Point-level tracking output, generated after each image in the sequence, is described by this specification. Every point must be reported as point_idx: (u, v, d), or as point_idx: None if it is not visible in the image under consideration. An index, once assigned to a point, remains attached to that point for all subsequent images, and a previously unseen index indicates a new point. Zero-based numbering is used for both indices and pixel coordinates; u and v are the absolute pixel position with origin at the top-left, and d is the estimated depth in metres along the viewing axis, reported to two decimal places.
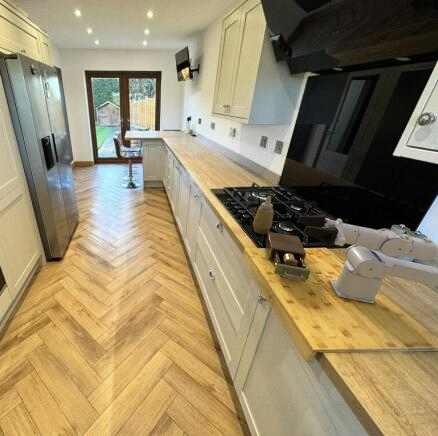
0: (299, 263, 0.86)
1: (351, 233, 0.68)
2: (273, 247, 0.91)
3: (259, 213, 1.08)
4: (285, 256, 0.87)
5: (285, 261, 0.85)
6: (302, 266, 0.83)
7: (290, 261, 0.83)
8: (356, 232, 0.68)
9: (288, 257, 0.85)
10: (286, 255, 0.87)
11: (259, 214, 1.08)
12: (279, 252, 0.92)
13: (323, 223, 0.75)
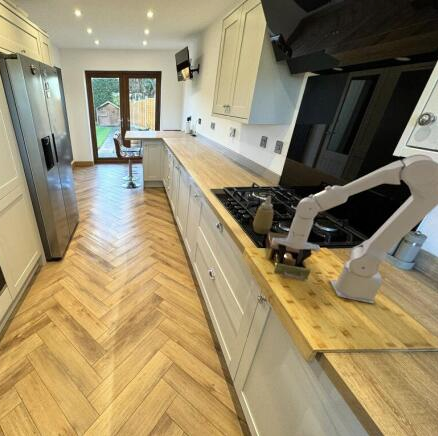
0: None
1: None
2: (273, 247, 0.91)
3: (259, 213, 1.08)
4: None
5: (283, 260, 0.85)
6: (302, 266, 0.83)
7: (288, 260, 0.84)
8: None
9: (286, 256, 0.86)
10: None
11: (259, 214, 1.08)
12: None
13: (302, 249, 0.83)
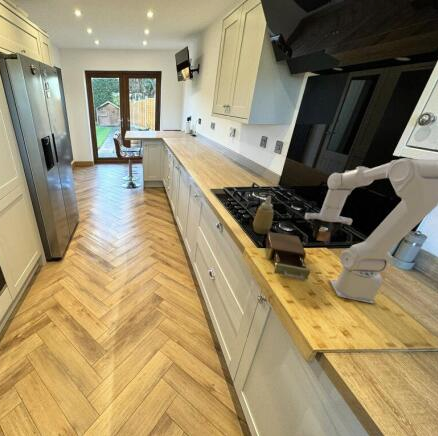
0: (299, 263, 0.87)
1: (322, 207, 0.89)
2: (273, 247, 0.91)
3: (259, 213, 1.08)
4: None
5: (318, 234, 0.90)
6: (302, 266, 0.83)
7: (323, 233, 0.89)
8: None
9: (320, 230, 0.91)
10: None
11: (259, 214, 1.08)
12: (279, 252, 0.92)
13: (332, 222, 0.89)
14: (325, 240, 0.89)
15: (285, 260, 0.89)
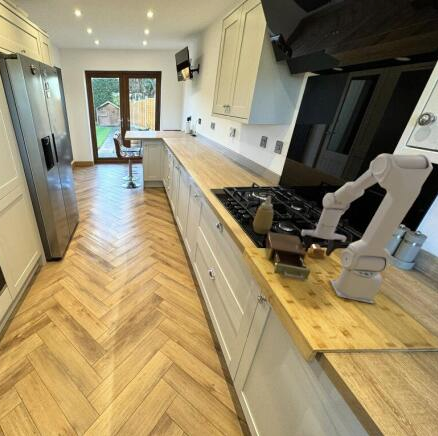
0: (299, 263, 0.87)
1: None
2: (273, 247, 0.91)
3: (259, 213, 1.08)
4: (312, 246, 0.97)
5: (313, 251, 0.95)
6: (302, 266, 0.83)
7: (318, 250, 0.93)
8: None
9: (315, 247, 0.95)
10: (313, 245, 0.97)
11: (259, 214, 1.08)
12: (279, 252, 0.92)
13: None
14: (320, 257, 0.94)
15: (285, 260, 0.89)
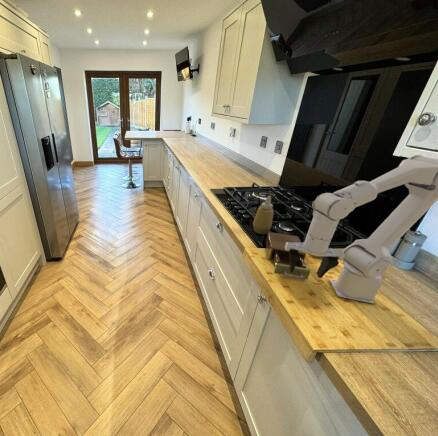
0: (299, 263, 0.87)
1: (306, 236, 0.69)
2: (273, 247, 0.91)
3: (259, 213, 1.08)
4: None
5: None
6: (302, 266, 0.83)
7: None
8: None
9: None
10: None
11: (259, 214, 1.08)
12: (279, 252, 0.92)
13: None
14: (320, 257, 0.94)
15: (285, 260, 0.89)
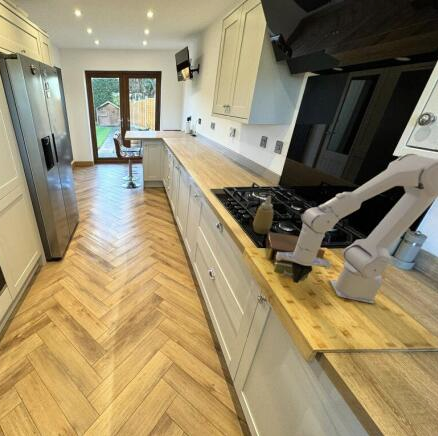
0: None
1: None
2: (273, 247, 0.91)
3: (259, 213, 1.08)
4: None
5: None
6: None
7: (318, 250, 0.93)
8: None
9: None
10: None
11: (259, 214, 1.08)
12: (279, 251, 0.93)
13: None
14: (320, 257, 0.94)
15: None
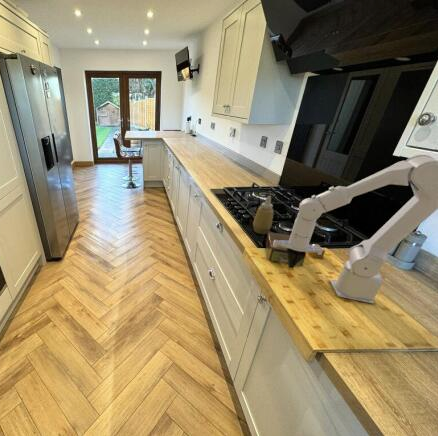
0: None
1: None
2: (273, 247, 0.91)
3: (259, 213, 1.08)
4: None
5: None
6: None
7: None
8: None
9: None
10: None
11: (259, 214, 1.08)
12: None
13: None
14: (320, 257, 0.94)
15: None
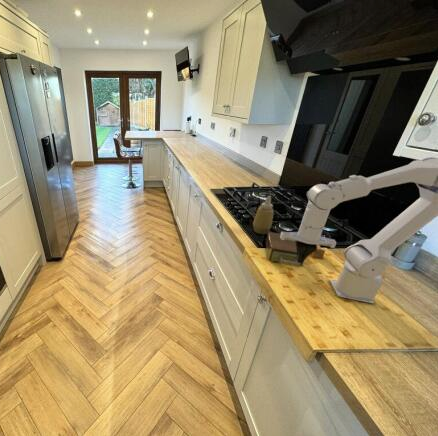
0: None
1: None
2: (273, 247, 0.91)
3: (259, 213, 1.08)
4: None
5: None
6: None
7: (318, 250, 0.93)
8: None
9: None
10: None
11: (259, 214, 1.08)
12: None
13: (306, 242, 0.74)
14: (320, 257, 0.94)
15: None
